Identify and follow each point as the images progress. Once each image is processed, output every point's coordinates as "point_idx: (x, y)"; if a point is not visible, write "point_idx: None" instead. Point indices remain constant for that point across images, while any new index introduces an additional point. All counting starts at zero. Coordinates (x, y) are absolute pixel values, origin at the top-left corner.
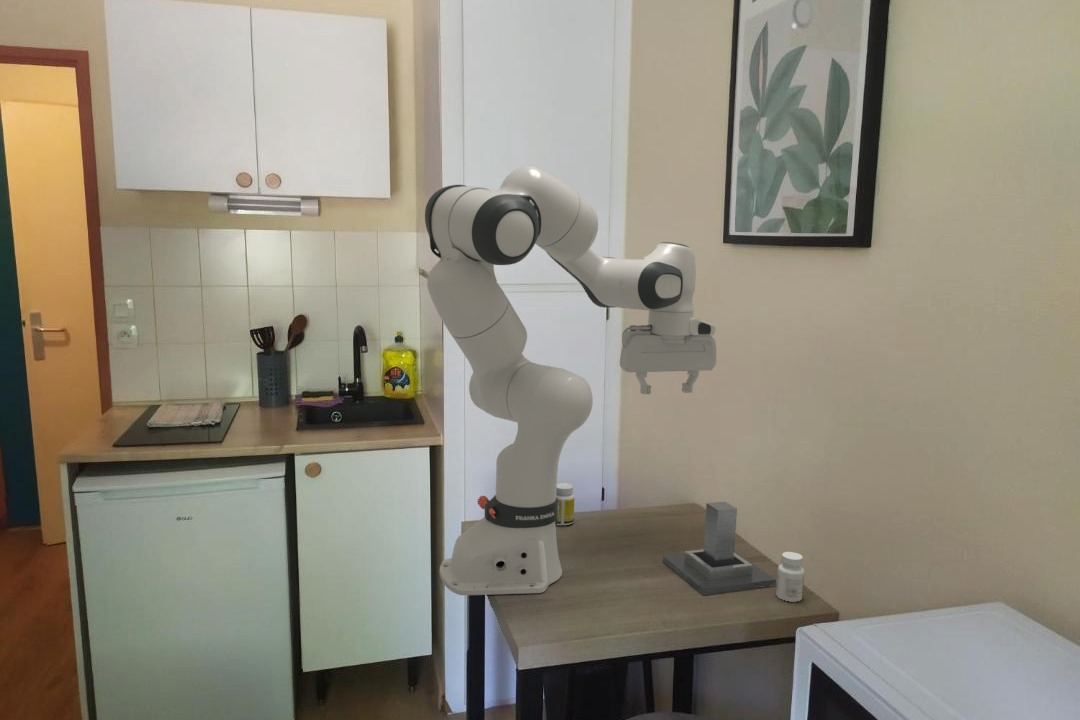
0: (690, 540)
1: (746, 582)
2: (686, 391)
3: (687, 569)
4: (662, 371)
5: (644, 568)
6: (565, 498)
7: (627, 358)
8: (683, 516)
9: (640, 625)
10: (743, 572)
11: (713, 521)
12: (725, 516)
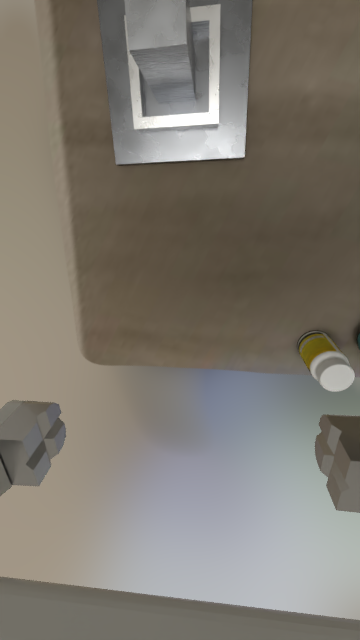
0: (156, 235)
1: None
2: (48, 403)
3: (234, 81)
4: (300, 614)
5: (288, 136)
6: (337, 353)
7: None
8: (125, 324)
9: None
10: None
11: (188, 13)
12: None
